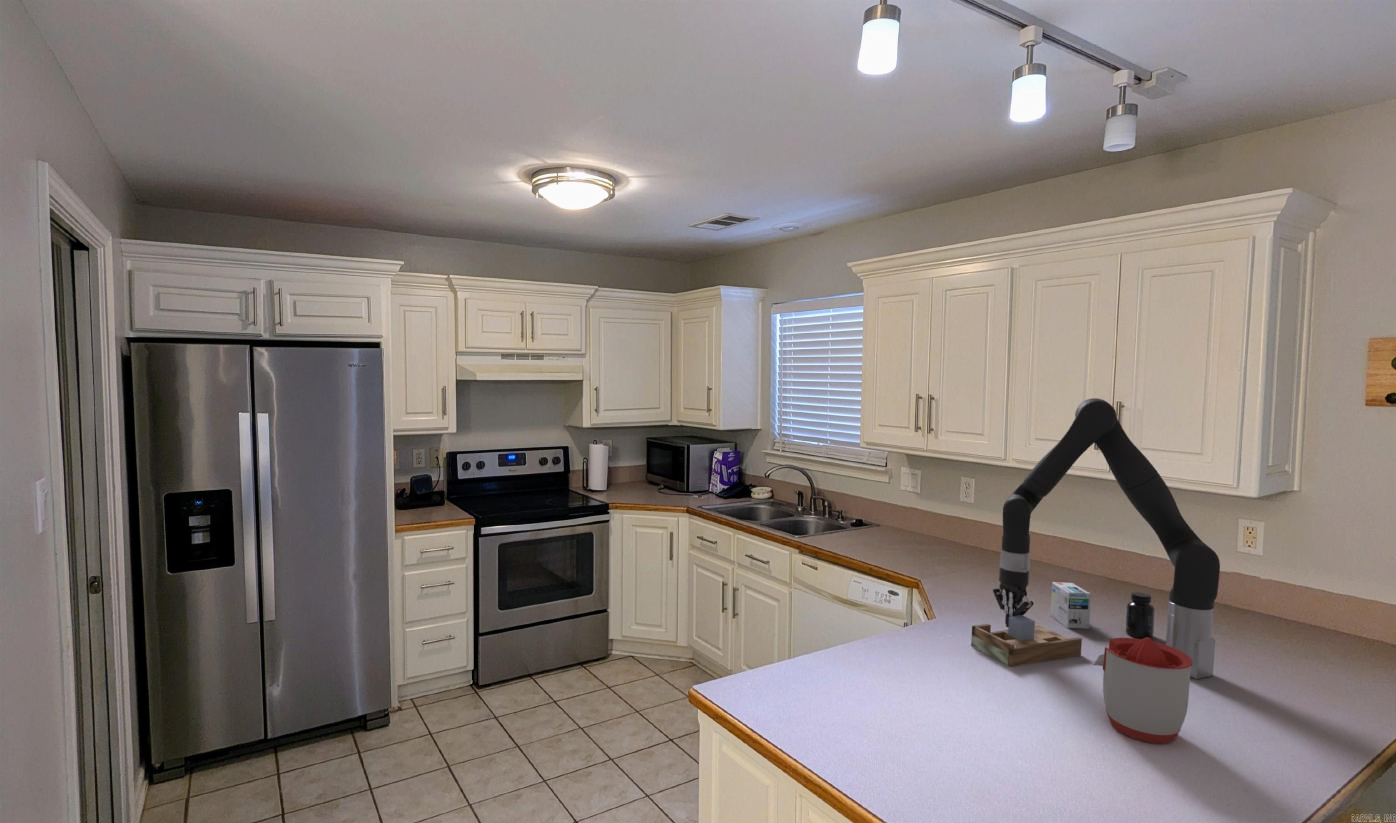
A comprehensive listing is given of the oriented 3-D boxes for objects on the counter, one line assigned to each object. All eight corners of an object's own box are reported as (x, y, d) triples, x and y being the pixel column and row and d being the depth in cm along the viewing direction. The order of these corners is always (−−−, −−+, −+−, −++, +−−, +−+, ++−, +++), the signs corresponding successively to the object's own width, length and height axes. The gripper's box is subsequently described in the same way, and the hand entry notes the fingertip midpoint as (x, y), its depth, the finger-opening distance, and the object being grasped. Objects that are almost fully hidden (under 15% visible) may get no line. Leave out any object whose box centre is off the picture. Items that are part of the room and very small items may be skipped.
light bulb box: (1090, 629, 204) (1092, 593, 204) (1066, 628, 204) (1069, 592, 204) (1071, 616, 215) (1073, 582, 214) (1049, 615, 215) (1051, 581, 214)
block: (1033, 639, 188) (1034, 620, 187) (1020, 640, 186) (1021, 622, 186) (1021, 632, 192) (1022, 615, 191) (1008, 634, 190) (1009, 616, 190)
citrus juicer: (1097, 702, 159) (1102, 616, 157) (1190, 728, 148) (1197, 636, 146) (1083, 728, 146) (1088, 635, 145) (1183, 759, 135) (1190, 659, 134)
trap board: (1080, 654, 185) (1082, 634, 185) (1010, 666, 177) (1011, 645, 176) (1038, 635, 198) (1039, 616, 198) (971, 645, 190) (972, 625, 189)
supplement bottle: (1145, 631, 204) (1147, 591, 203) (1158, 640, 197) (1161, 598, 196) (1120, 629, 204) (1123, 589, 203) (1132, 638, 197) (1135, 597, 197)
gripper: (986, 561, 198) (982, 620, 199) (1022, 574, 186) (1018, 638, 187) (1006, 559, 201) (1003, 618, 202) (1044, 572, 188) (1040, 634, 189)
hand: (1010, 627), depth 194 cm, fingers closed
